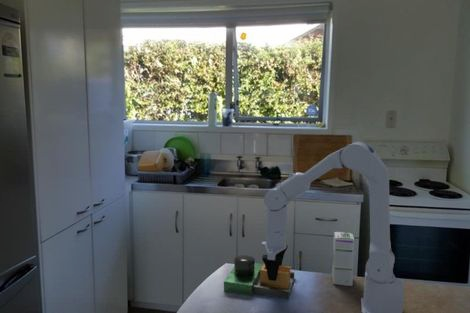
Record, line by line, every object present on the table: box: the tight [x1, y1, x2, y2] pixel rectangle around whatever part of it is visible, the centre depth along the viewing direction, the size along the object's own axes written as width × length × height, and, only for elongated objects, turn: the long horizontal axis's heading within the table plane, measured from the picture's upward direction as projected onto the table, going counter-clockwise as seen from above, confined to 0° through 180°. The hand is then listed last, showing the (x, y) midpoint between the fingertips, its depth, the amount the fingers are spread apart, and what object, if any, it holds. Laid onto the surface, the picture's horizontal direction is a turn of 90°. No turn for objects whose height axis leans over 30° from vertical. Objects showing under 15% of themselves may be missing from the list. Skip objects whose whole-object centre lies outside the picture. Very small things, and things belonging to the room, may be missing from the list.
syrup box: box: [331, 231, 355, 287], centre depth 114 cm, size 6×6×14 cm
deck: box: [223, 255, 295, 300], centre depth 112 cm, size 18×15×7 cm
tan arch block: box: [260, 263, 291, 289], centre depth 111 cm, size 8×5×4 cm, turn 74°
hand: (274, 274), depth 111 cm, fingers open, 7 cm apart
